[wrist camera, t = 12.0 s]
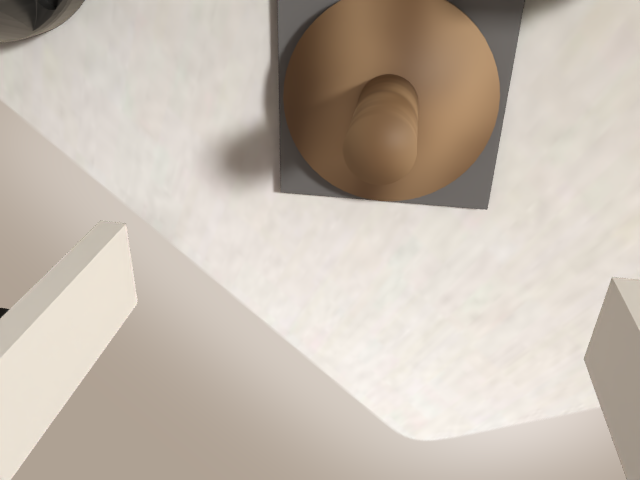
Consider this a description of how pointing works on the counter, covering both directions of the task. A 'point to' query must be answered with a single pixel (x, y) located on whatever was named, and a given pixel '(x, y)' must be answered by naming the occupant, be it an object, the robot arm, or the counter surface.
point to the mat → (475, 184)
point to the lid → (391, 96)
